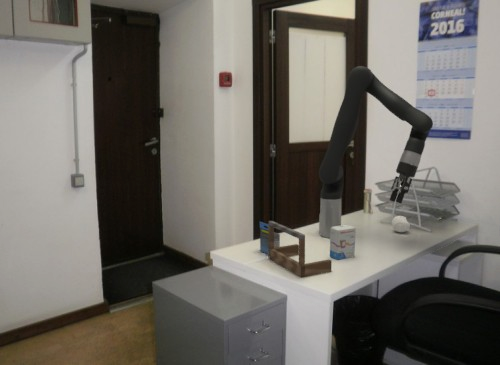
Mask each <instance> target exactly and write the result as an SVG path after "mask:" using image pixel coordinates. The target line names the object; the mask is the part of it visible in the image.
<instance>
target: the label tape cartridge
mask: <svg viewBox="0 0 500 365" xmlns="http://www.w3.org/2000/svg"><path fill="white" fill-rule="evenodd" d="M280 238H281V235H280V233H277V232H275V231H274V248H276V247H281V246H280V244H281V242H280ZM259 244H260V245H259V248H260V252H262V253H265V254H267V255H269V230H268V223H265V222H263V221H259Z"/></svg>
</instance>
